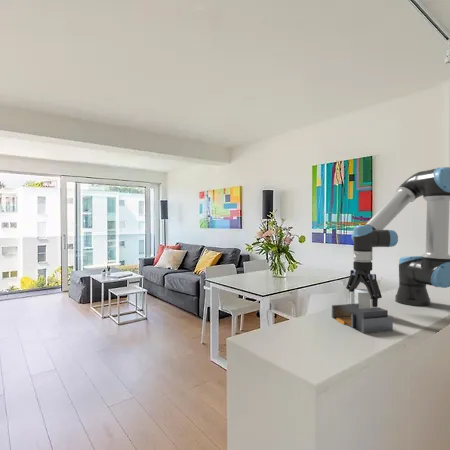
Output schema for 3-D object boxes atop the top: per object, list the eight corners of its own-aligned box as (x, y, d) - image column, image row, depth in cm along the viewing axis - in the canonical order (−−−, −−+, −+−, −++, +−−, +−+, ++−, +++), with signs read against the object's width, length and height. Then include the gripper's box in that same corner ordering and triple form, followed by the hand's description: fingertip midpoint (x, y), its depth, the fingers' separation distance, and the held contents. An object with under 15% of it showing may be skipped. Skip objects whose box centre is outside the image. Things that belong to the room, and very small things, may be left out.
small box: (372, 318, 133) (372, 292, 133) (358, 317, 134) (358, 292, 134) (367, 312, 141) (367, 289, 141) (354, 312, 142) (354, 288, 142)
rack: (357, 317, 133) (357, 303, 133) (392, 333, 114) (392, 316, 114) (330, 319, 130) (330, 305, 130) (361, 336, 111) (361, 319, 111)
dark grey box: (379, 326, 119) (379, 307, 119) (387, 329, 115) (387, 310, 115) (355, 328, 117) (355, 309, 117) (363, 332, 113) (363, 312, 113)
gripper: (338, 258, 149) (338, 303, 149) (375, 264, 124) (375, 318, 124) (352, 257, 150) (352, 302, 150) (391, 264, 126) (391, 317, 126)
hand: (362, 310), depth 137 cm, fingers open, 13 cm apart
